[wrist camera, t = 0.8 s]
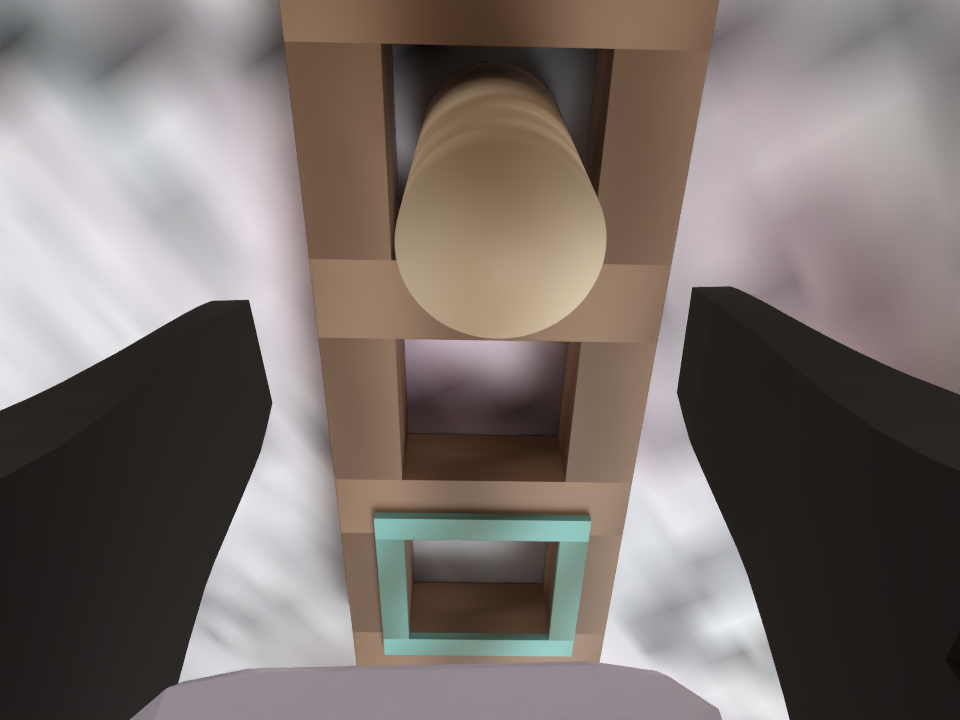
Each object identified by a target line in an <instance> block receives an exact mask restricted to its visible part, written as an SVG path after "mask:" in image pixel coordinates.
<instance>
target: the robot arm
mask: <svg viewBox="0 0 960 720" xmlns="http://www.w3.org/2000/svg"><path fill="white" fill-rule="evenodd" d="M677 394H678V398H679V402H680V406H681V410H682V414H683V418H684V422H685V425H686V429H687V432H688V436H689V439H690V442H691V445H692V447H693V449H694V452H695V454H696V456H697V459H698V461H699V463H700V466H701V468H702V470H703V473H704V475H705V477H706V480H707V482H708V484H709V486H710V488H711V491H712V493H713V495H714V497H715V500H716V502H717V504H718V506H719V509H720V511H721V513H722V515H723V518H724V520H725V522H726V524H727V527H728V529H729V531H730V533H731V536H732V538H733V540H734V542H735V545H736V547H737V549H738V552H739V554H740V557H741V559H742V562H743V564H744V567H745V570H746V572H747V575H748V578H749V581H750V584H751V587H752V591H753V594H754V597H755V600H756V603H757V607H758V610H759V613H760V616H761V619H762V623H763V626H764V629H765V632H766V636H767V639H768V643H769V646H770V650H771V653H772V657H773V660H774V664H775V667H776V671H777V674H778V678H779V681H780V685H781V688H782V692H783V695H784V699H785V703H786V707H787V711H788V715H789V719H790V720H960V395H959V394H956V393H954V392H951V391H948V390H946V389H943V388H941V387H938V386H936V385H933V384H930V383H928V382H925V381H923V380H920V379H917V378H915V377H912V376H910V375H907V374H905V373H903V372H900V371H898V370H896V369H893V368H891V367H889V366H887V365H884V364H882V363H880V362H878V361H876V360H874V359H872V358H870V357H867V356H865V355H863V354H861V353H859V352H857V351H855V350H853V349H851V348H849V347H847V346H845V345H843V344H841V343H839V342H837V341H835V340H833V339H831V338H829V337H827V336H825V335H823V334H821V333H820V332H818V331H816V330H814V329H812V328H810V327H808V326H807V325H805V324H803V323H801V322H799V321H797V320H796V319H794V318H792V317H790V316H788V315H787V314H785V313H783V312H781V311H779V310H777V309H776V308H774V307H772V306H770V305H768V304H767V303H765V302H763V301H761V300H759V299H757V298H755V297H753V296H751V295H749V294H747V293H745V292H743V291H741V290H739V289H736V288H733V287H730V286H728V287H692V293H691V300H690V307H689V314H688V320H687V327H686V334H685V341H684V348H683V355H682V361H681V368H680V375H679V382H678V389H677ZM271 407H272V399H271V395H270V390H269V386H268V382H267V377H266V373H265V369H264V364H263V360H262V355H261V351H260V347H259V342H258V338H257V333H256V329H255V325H254V320H253V316H252V312H251V307H250V303H249V300H228V301H210V302H208V303H205V304H203V305H201V306H199V307H196V308H195V309H193V310H191V311H189V312H187V313H185V314H183V315H181V316H180V317H178V318H176V319H174V320H173V321H171V322H169V323H167V324H166V325H164V326H162V327H160V328H159V329H157V330H155V331H154V332H152V333H150V334H148V335H147V336H145V337H143V338H142V339H140V340H138V341H136V342H135V343H133V344H131V345H130V346H128V347H126V348H124V349H123V350H121V351H119V352H117V353H116V354H114V355H112V356H110V357H108V358H106V359H105V360H103V361H101V362H99V363H97V364H95V365H93V366H91V367H90V368H88V369H86V370H84V371H82V372H80V373H78V374H77V375H75V376H73V377H71V378H69V379H67V380H65V381H63V382H62V383H60V384H58V385H56V386H54V387H51V388H49V389H47V390H45V391H43V392H41V393H39V394H37V395H35V396H33V397H30V398H28V399H26V400H24V401H21V402H19V403H17V404H15V405H12V406H10V407H8V408H5V409H3V410H1V411H0V720H722V719H721V715H720V712H719V709H717V708H716V707H714V706H713V705H711V704H710V703H708V702H707V701H705V700H704V699H702V698H701V697H699V696H698V695H696V694H695V693H693V692H692V691H690V690H689V689H687V688H685V687H684V686H682V685H681V684H679V683H678V682H676V681H675V680H673V679H672V678H670V677H669V676H666V675H664V674H662V673H660V672H657V671H653V670H646V669H639V668H632V667H625V666H618V665H611V664H604V663H598V662H591V661H572V662H527V663H483V664H438V665H393V666H349V667H304V668H259V669H245V670H240V671H235V672H230V673H225V674H220V675H215V676H209V677H204V678H199V679H194V680H189V681H184V682H181V683H179V684H178V682H179V678H180V674H181V670H182V667H183V663H184V659H185V655H186V651H187V648H188V644H189V640H190V637H191V634H192V630H193V627H194V623H195V620H196V616H197V613H198V610H199V606H200V603H201V599H202V596H203V592H204V589H205V586H206V583H207V581H208V578H209V575H210V573H211V570H212V567H213V564H214V562H215V559H216V557H217V555H218V552H219V550H220V548H221V545H222V543H223V541H224V538H225V536H226V533H227V531H228V529H229V526H230V524H231V522H232V519H233V517H234V515H235V512H236V510H237V508H238V505H239V503H240V500H241V498H242V496H243V493H244V491H245V489H246V486H247V484H248V481H249V479H250V477H251V474H252V472H253V469H254V467H255V464H256V462H257V459H258V457H259V454H260V451H261V448H262V444H263V440H264V436H265V433H266V429H267V424H268V420H269V415H270V411H271Z"/></svg>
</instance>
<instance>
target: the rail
mask: <svg viewBox="0 0 960 720" xmlns="http://www.w3.org/2000/svg"><path fill="white" fill-rule="evenodd" d="M279 3H280V12H281V20H282V29H283V37H284V46H285V55H286V63H287V72H288V80H289V89H290V98H291V106H292V115H293V123H294V132H295V140H296V149H297V158H298V166H299V175H300V183H301V192H302V201H303V209H304V218H305V226H306V235H307V243H308V252H309V261H310V269H311V278H312V286H313V295H314V304H315V312H316V321H317V329H318V338H319V346H320V355H321V364H322V372H323V381H324V389H325V398H326V407H327V415H328V424H329V432H330V441H331V449H332V458H333V467H334V475H335V484H336V492H337V501H338V510H339V518H340V527H341V535H342V544H343V552H344V561H345V570H346V578H347V587H348V595H349V604H350V613H351V621H352V630H353V638H354V647H355V655H356V664H357V666H393V665H438V664H483V663H527V662H572V661H591V662H598V663H599V662H600V656H601V650H602V645H603V639H604V634H605V628H606V623H607V617H608V612H609V606H610V601H611V595H612V590H613V584H614V579H615V573H616V567H617V562H618V556H619V551H620V545H621V540H622V534H623V529H624V523H625V518H626V512H627V507H628V501H629V496H630V490H631V485H632V479H633V473H634V468H635V462H636V457H637V451H638V446H639V440H640V435H641V429H642V424H643V418H644V413H645V407H646V402H647V396H648V391H649V385H650V379H651V374H652V368H653V363H654V357H655V352H656V346H657V341H658V335H659V330H660V324H661V319H662V313H663V308H664V302H665V297H666V291H667V285H668V280H669V274H670V269H671V263H672V258H673V252H674V247H675V241H676V236H677V230H678V225H679V219H680V214H681V208H682V203H683V197H684V191H685V186H686V180H687V175H688V169H689V164H690V158H691V153H692V147H693V142H694V136H695V131H696V125H697V120H698V114H699V109H700V103H701V97H702V92H703V86H704V81H705V75H706V70H707V64H708V59H709V53H710V48H711V42H712V37H713V31H714V26H715V20H716V14H717V9H718V3H719V0H279ZM392 44H425V45H469V46H513V47H557V48H597V58H596V68H595V78H594V88H593V97H592V107H591V117H590V127H589V137H588V146H587V156H586V166H585V170H586V173H587V175H588V177H589V180H590V182H591V184H592V186H593V189H594V191H595V193H596V195H597V198H598V200H599V203H600V205H601V208H602V211H603V215H604V219H605V224H606V235H607V238H606V251H605V256H604V262H603V265H602V268H601V271H600V273H599V276H598V278H597V280H596V282H595V284H594V286H593V287H592V289H591V290H590V292H589V293H588V295H587V296H586V297H585V299H584V300H583V301H582V302H581V303H580V304H579V305H578V307H576V308H575V309H574V310H573V311H572V312H571V313H570V314H569V315H567V316H566V317H564V318H563V319H562V320H560V321H559V322H557V323H555V324H553V325H552V326H550V327H548V328H546V329H543V330H541V331H538V332H536V333H533V334H529V335H525V336H521V337H515V338H504V339H493V338H482V337H477V336H472V335H468V334H465V333H462V332H459V331H457V330H455V329H452V328H450V327H448V326H446V325H444V324H443V323H441V322H439V321H438V320H436V319H435V318H434V317H432V316H431V315H430V314H429V313H427V312H426V311H425V310H424V309H423V308H422V307H421V306H420V305H419V304H418V303H417V301H416V300H415V299H414V297H413V296H412V295H411V293H410V292H409V290H408V288H407V287H406V285H405V283H404V281H403V278H402V276H401V274H400V271H399V268H398V264H397V260H396V253H395V229H396V223H397V218H398V214H399V201H398V176H397V152H396V128H395V104H394V80H393V56H392ZM404 339H440V340H503V341H565V342H568V343H567V352H566V362H565V372H564V382H563V392H562V401H561V411H560V421H559V431H558V436H518V435H446V434H408V418H407V394H406V369H405V345H404ZM413 540H476V541H547V548H546V558H545V568H544V578H543V584H529V583H434V582H414V562H413Z"/></svg>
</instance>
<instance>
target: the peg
mask: <svg viewBox="0 0 960 720" xmlns="http://www.w3.org/2000/svg"><path fill="white" fill-rule="evenodd" d="M606 238H607V235H606V224H605V219H604V215H603V211H602V208H601V205H600V203H599V200H598V198H597V195H596V193H595V191H594V189H593V186H592V184H591V182H590V180H589V177H588V175H587V173H586V170H585V168H584V166H583V164H582V161H581V159H580V157H579V155H578V152H577V150H576V148H575V145H574V143H573V141H572V139H571V136H570V134H569V132H568V130H567V127H566V125H565V123H564V120H563V118H562V116H561V114H560V111H559V109H558V107H557V105H556V102H555V100H554V99H553V97H552V95H551V93H550V92H549V91H548V89H547V88H546V87H545V86H544V85H543V84H542V83H541V82H540V80H539V79H537V78H536V77H535V76H533V75H532V74H531V73H529V72H527V71H525V70H524V69H522V68H519V67H517V66H514V65H510V64H506V63H498V62H488V63H480V64H475V65H472V66H469V67H466V68H464V69H462V70H460V71H458V72H457V73H455V74H454V75H452V76H451V77H449V78H448V79H447V80H446V81H445V82H444V83H443V84H442V85H441V86H440V87H439V89H438V90H437V91H436V92H435V94H434V95H433V97H432V99H431V101H430V103H429V105H428V107H427V110H426V113H425V116H424V120H423V124H422V127H421V131H420V135H419V139H418V142H417V146H416V150H415V154H414V158H413V161H412V165H411V169H410V173H409V176H408V180H407V184H406V188H405V192H404V195H403V199H402V203H401V207H400V210H399V214H398V218H397V223H396V229H395V253H396V260H397V264H398V268H399V271H400V274H401V276H402V278H403V281H404V283H405V285H406V287H407V288H408V290H409V292H410V293H411V295H412V296H413V297H414V299H415V300H416V301H417V303H418V304H419V305H420V306H421V307H422V308H423V309H424V310H425V311H426V312H427V313H429V314H430V315H431V316H432V317H434V318H435V319H436V320H438V321H439V322H441V323H443V324H444V325H446V326H448V327H450V328H452V329H455V330H457V331H459V332H462V333H465V334H468V335H472V336H477V337H482V338H493V339H504V338H515V337H521V336H525V335H529V334H533V333H536V332H538V331H541V330H543V329H546V328H548V327H550V326H552V325H553V324H555V323H557V322H559V321H560V320H562V319H563V318H564V317H566V316H567V315H569V314H570V313H571V312H572V311H573V310H574V309H575V308H576V307H578V305H579V304H580V303H581V302H582V301H583V300H584V299H585V297H586V296H587V295H588V293H589V292H590V290H591V289H592V287H593V286H594V284H595V282H596V280H597V278H598V276H599V273H600V271H601V268H602V265H603V262H604V256H605V251H606Z"/></svg>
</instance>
